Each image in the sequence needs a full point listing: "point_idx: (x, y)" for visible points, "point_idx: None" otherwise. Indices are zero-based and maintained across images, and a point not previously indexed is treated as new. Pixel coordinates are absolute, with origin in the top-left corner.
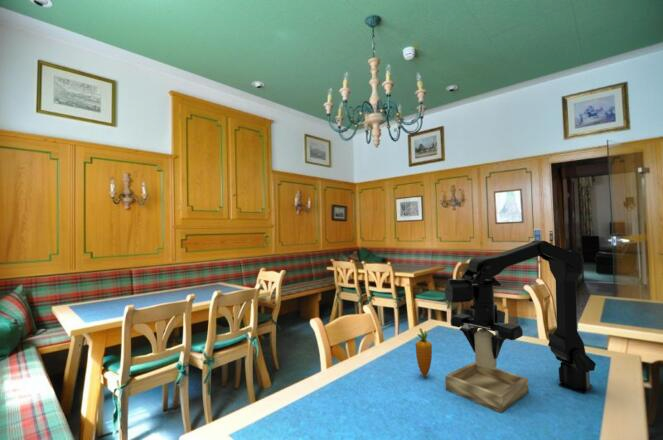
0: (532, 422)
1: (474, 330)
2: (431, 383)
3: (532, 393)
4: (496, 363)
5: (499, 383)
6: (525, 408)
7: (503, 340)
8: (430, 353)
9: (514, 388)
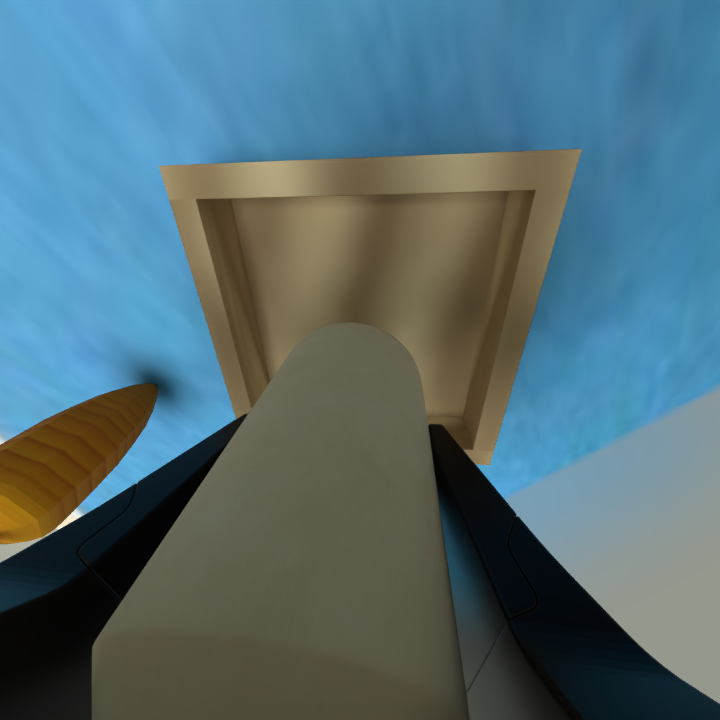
0: (577, 406)
1: (23, 709)
2: (209, 407)
3: (554, 147)
4: (420, 378)
5: (386, 230)
6: (542, 337)
7: (631, 665)
8: (85, 465)
9: (519, 355)
